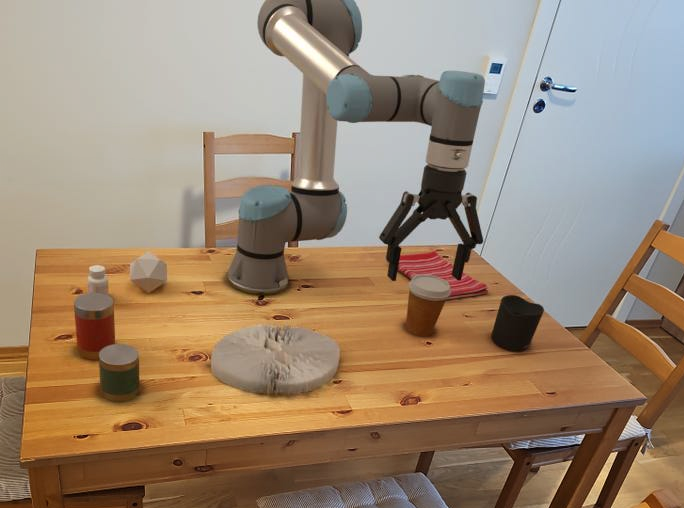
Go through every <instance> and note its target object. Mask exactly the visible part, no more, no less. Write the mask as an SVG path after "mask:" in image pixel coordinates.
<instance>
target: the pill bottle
mask: <svg viewBox="0 0 684 508" xmlns="http://www.w3.org/2000/svg"><path fill="white" fill-rule="evenodd" d="M87 293H103V294H106V295H109V293H110V292H109V278H108V276H107V275H106V267H105V266H103V265H101V264H100V265H99V264H94V265H91V266H89V268H88V277H87ZM109 296H110V295H109Z"/></svg>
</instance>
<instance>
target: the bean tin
mask: <svg viewBox="0 0 684 508" xmlns="http://www.w3.org/2000/svg"><path fill="white" fill-rule="evenodd" d="M98 368H99V384H100V385H99V387H100V393H101V395H102V397H103V398H105V400H109V401H112V402H126V401H127V402H128V401H130V400H132V399H134V398H136V397H137V396H138V395H139V393H140V354H139V351H138V349H137V348H136V347H134V346H133V345H130V344H126V343H115V344H113V345H109V346H106V347H105V348H103V349H102V350H101V351H100V353H99V360H98Z"/></svg>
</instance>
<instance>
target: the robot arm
mask: <svg viewBox="0 0 684 508" xmlns="http://www.w3.org/2000/svg"><path fill="white" fill-rule="evenodd" d="M258 11H259V12H258V15H257V31H258V34H259V37H260V40H261V41H262V43H263V45H265V47H267V49H268V50H270V51H271V53H273V55H276V56H278V57H285V58H286V60H288V61H289V62H290V63H292V65H293V66H294V67H296V68H297V69H298V71H299V72H301V73H302V86H301V87H302V88H301V107H300V108H301V109H300V130H299V147H298V148H299V150H298V168H297V169H298V171H297V176H296V178H295V179H294V180H293V181H292V182H291V186H290V187H291V188H290V189H291V190H289V189H287V188H286V187H284V186H280V185H271V184H264V185H263V184H262V185H258V186H253V187H251V188H249V189H247V190H245V192H244V193H243V194H242V195H241V198H240V203H239V208H238V226H237V239H236V240H237V242H236V250H235V253H234V255H233V258H232V260H231V262H230V265H229V268H228V271H227V279H226V280H227V282H228V285H230V286H231V287H233V288H234V289H235V290H238V291H240V292H242V293H245V294H250V295H258V296H269V295H275V294H278V293H281V292H283V291H284V290H286V289H287V287H288V285H289V273H288V269H287V264H286V259H285V247H286V243H295V242H304V241H314V240H316V241H322V240H324V239H330V238H334V237H336V236H337V235H338V234H339V233H340V232H341V231H342V230H343V228H344V226H345V223H346V221H347V216H348V203H347V202H346V201H347V200H346V197H345V195H344V193H342V191H340V185H339V184H338V183H337V181H336V180H335V178H334V176H335V175H334V174H335V162H336V149H337V147H336V146H337V134H338V132H337V131H338V122H347V123H350V124H357V123H381V122H383V123H401V122H402V123H419V124H423V125H427V126H430V133H429V139H428V144H427V150H426V155H425V163H426V165H425V166H424V167H423V172H422V177H421V184H420V191H419V192H418V194H416V193H410V192H409V191H407V190H405V191H404V192H403V193H402V196H401V200H400V202H399V205H398V206H397V208H396V209H395V210H394V212H393V214H392V215H391V217H390V218H389V220H388V222H387V223H386V225H385V226H384V228H383V229H382V231H381V232H380V234H379V236H378V238H379V240H380V241H381V242H382V243H383V244H384V245H387V248H386V255H385V260H386V262H387V263H388V268H387V275H386V276H387V277H388V278H389V279H390V280H391V282H396V281H397V277H398V272H399V270H398V266H399V260H400V256H401V254H402V247H401V246H400V245H401V244H402V242H404V241H405V240H406V238H407V237H409V235H410V234H412V233H413V232H414V231H415V230H416V228H417V227H419V226H420V225H421V223H423V222H425V221H427V219H429V220H437V219H440V220H447V219H449V221H450V223H451V225H452V226H453V228H454V230H455V231H456V233H457V235H458V236H459V238H460V240H461V242H462V243H458V244H457V246H456V247H457V248H456V252H455V256H454V261H453V270H452V276H453V277H454V278H456V279H457V280H461V278H462V273H464V268H465V264H467V263H469V261H470V259H471V254H472V250H474V249H475V248H476V247H477V245H482V244H483V243H484V237H483V233H482V229H481V224H480V220H479V215H478V211H477V204H478V203H477V202H478V197H477V196H476V195H475V194H473V193H471V192H467V193H465V194H462V192H463V191H464V189H465V188H464V187H465V183H466V178H467V174H468V173H467V170H466V168H468V167H469V162H470V158H471V154H472V150H473V144H474V139H475V134H476V130H477V126H478V121H479V117H480V113H481V109H482V105H483V102H484V100H483V99H484V93H485V84H486V80H485V77H484V76H483V75H482V74H480V73H476V72H469V71H462V70H445V71H443V72H442V73H441V75H440V78H439V79H438V80H437V79H434V78H430V77H425V76H423V75H420V74H416V75H415V74H404V75H402V76H395V75H394V76H392V75H373V74H371V73H369V72H368V71H367V70H365V69H364V68H363V67H361V65H359V64H358V63H357V62H356V61H354V60H353V59H352V58H350V54H352V53H354V52H355V51H356V50H357V48H359V43H360V42H361V39H362V34H363V19H362V14H361V11H360V7H359V5H357V2H356V1H355V0H264V2H263V3H262V5H261V7H260V8H259V10H258ZM416 203H417V204H418V206H417V207H416V208H414V210H413V211H412V214H411V215H410V216H409V217H408V218H407V216H408V214H409V213H410V211H411V209H412V207H414V206H415V205H416ZM460 205H462V206H463V208H464V212H465V216H466V221H467V224H468V228H469V232H468V230H467V228H466V227H465V225H464V223H463V221H462V219H461V216H460V215H459V213H458V211H457V209H458V208H459V207H460ZM406 218H407V219H406ZM405 219H406V220H405ZM469 233H470V234H469Z"/></svg>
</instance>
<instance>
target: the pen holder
mask: <svg viewBox="0 0 684 508" xmlns="http://www.w3.org/2000/svg"><path fill="white" fill-rule="evenodd" d="M544 311H545V308H544V307H543V305H542V304H540V303H534V302H530V301H529V300H526V299H524V298H523V297H521V296H519V295H514V294H509V295H504V296H503V297H501V299H500V303H499V307H498V310H497V313H496V317H495V321H494V324H493V329H492V332H491V336H490V338H491V341H492V342H493V343H494V344H495V345H496V346H497V347H499V348H500V349H503V350H506V351H509V352H514V353H515V352H517V353H518V352H524V351H526V350H528V349H529V347H530V345H531V342H532V340H533V339H534V336H535V334H536V331H537V328H538V326H539V324H540V321H541V320H542V316H543V315H544Z"/></svg>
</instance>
